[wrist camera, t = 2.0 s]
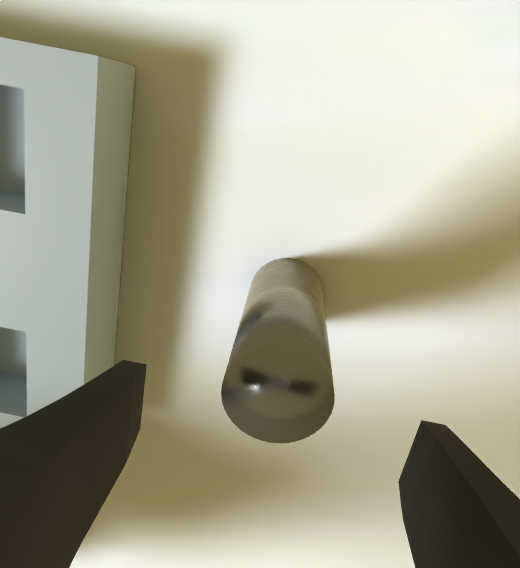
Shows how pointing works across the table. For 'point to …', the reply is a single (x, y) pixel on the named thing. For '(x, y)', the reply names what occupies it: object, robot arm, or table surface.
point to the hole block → (59, 219)
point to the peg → (281, 357)
